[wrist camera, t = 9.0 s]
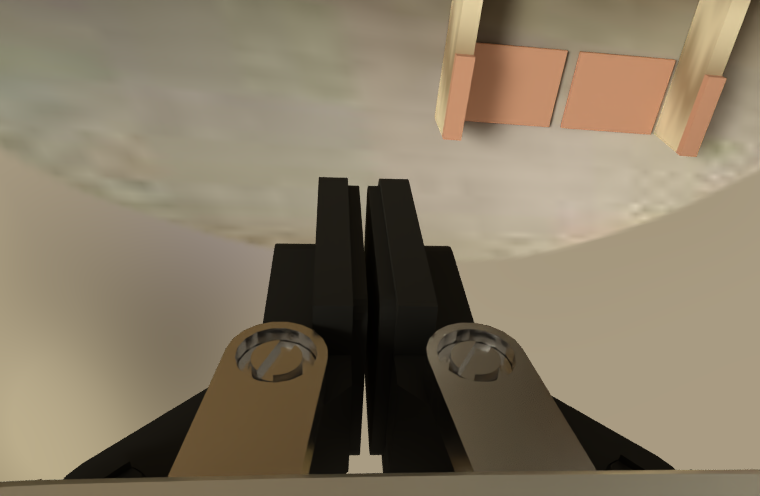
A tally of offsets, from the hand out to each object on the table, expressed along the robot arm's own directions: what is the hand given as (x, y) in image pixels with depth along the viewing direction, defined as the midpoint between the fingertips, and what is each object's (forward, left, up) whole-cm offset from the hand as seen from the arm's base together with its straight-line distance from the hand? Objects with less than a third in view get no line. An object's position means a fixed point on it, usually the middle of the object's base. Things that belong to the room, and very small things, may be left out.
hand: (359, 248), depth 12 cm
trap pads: (+4, +13, -26) cm, 29 cm away
